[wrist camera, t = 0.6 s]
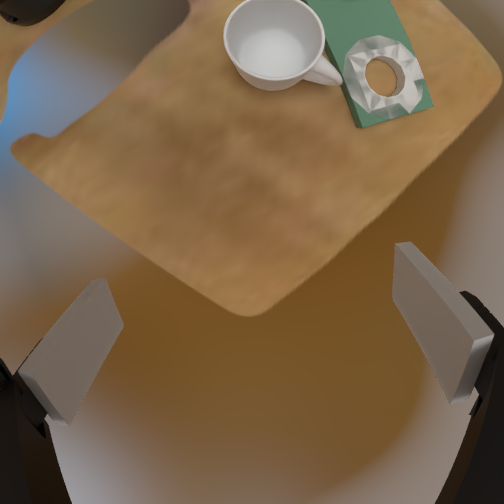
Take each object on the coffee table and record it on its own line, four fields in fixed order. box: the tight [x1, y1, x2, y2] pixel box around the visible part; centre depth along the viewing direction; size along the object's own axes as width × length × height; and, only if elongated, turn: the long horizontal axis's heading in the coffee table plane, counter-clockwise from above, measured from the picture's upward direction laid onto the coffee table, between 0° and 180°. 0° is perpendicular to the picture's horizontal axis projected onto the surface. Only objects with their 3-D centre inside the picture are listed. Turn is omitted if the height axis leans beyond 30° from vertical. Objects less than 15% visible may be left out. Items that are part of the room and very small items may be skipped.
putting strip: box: [300, 0, 434, 128], centre depth 29 cm, size 22×10×2 cm, turn 23°
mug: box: [223, 0, 342, 91], centre depth 27 cm, size 9×12×11 cm
